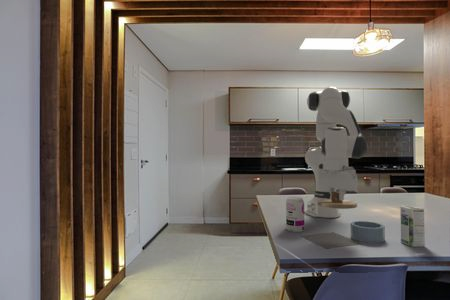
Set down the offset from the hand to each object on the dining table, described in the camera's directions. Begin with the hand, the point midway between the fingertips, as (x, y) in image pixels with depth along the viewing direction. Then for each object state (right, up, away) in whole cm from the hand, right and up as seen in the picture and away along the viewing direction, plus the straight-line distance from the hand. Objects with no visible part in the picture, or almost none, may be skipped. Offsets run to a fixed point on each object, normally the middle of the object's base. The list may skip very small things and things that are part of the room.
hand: (337, 199), depth 112 cm
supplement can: (-13, -17, +15) cm, 26 cm away
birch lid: (0, -2, 0) cm, 2 cm away
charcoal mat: (-3, -17, -1) cm, 17 cm away
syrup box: (+27, -17, -7) cm, 32 cm away
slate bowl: (+13, -17, +1) cm, 21 cm away
